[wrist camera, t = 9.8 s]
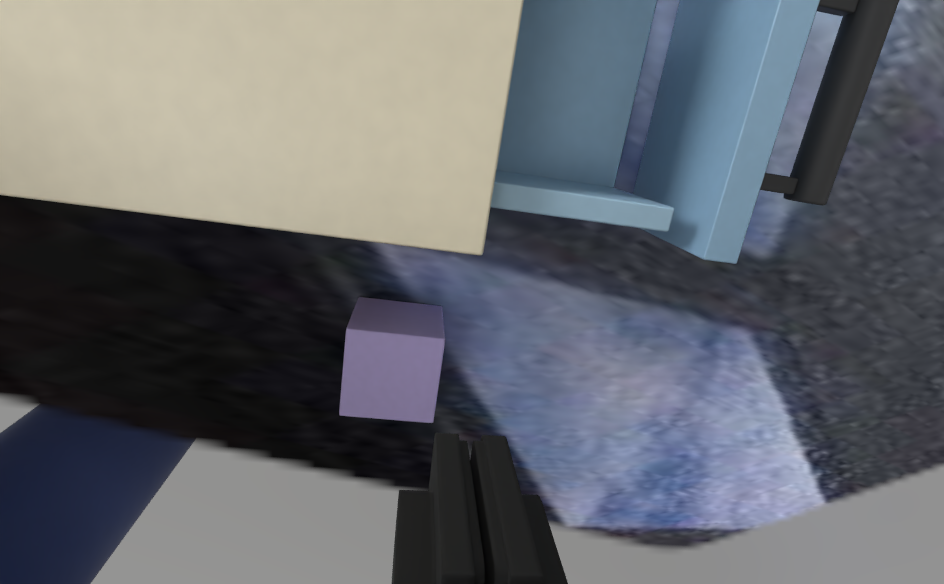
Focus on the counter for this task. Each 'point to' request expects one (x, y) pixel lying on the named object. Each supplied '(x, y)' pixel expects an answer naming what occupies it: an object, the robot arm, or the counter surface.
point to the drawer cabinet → (263, 112)
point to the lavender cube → (392, 360)
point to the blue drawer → (678, 112)
